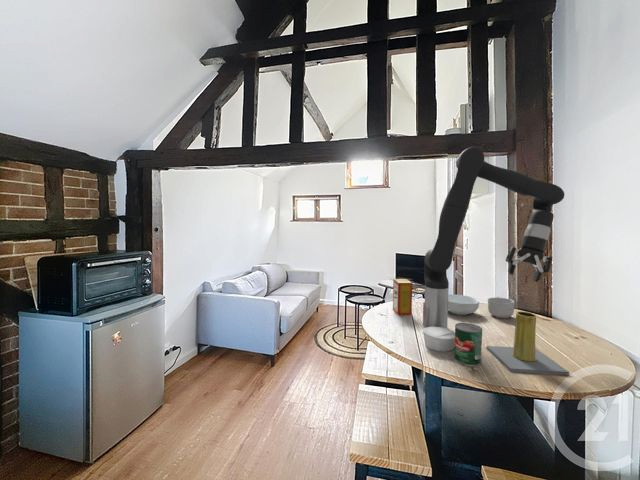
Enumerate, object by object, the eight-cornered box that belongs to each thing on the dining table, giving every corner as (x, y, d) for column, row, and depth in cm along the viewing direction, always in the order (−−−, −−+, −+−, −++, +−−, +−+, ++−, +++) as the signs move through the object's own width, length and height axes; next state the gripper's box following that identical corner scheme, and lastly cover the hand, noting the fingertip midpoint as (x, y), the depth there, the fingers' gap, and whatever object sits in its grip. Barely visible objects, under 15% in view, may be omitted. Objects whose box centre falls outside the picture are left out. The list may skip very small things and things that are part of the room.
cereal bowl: (437, 313, 142) (437, 299, 141) (444, 305, 156) (444, 292, 155) (476, 320, 132) (476, 305, 132) (480, 311, 146) (481, 297, 145)
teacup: (514, 321, 131) (514, 304, 130) (486, 317, 137) (487, 300, 136) (513, 313, 143) (513, 297, 142) (487, 309, 149) (488, 294, 148)
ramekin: (454, 356, 97) (455, 340, 97) (419, 349, 103) (420, 334, 102) (457, 344, 107) (457, 329, 107) (425, 338, 112) (425, 324, 112)
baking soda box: (411, 315, 140) (412, 282, 139) (397, 315, 140) (398, 282, 139) (405, 309, 149) (406, 278, 148) (392, 309, 149) (393, 278, 148)
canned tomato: (452, 362, 93) (453, 328, 92) (455, 352, 100) (456, 321, 99) (480, 368, 89) (481, 333, 88) (481, 358, 95) (483, 325, 95)
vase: (539, 362, 90) (542, 317, 90) (517, 360, 92) (519, 316, 91) (529, 354, 96) (531, 311, 96) (509, 352, 98) (511, 310, 97)
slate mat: (510, 371, 87) (510, 368, 87) (486, 348, 103) (486, 345, 103) (568, 375, 85) (569, 371, 85) (535, 351, 101) (535, 348, 101)
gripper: (519, 231, 110) (506, 272, 110) (562, 242, 106) (548, 284, 107) (511, 233, 117) (499, 271, 117) (550, 243, 114) (538, 283, 114)
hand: (522, 277), depth 112 cm, fingers open, 8 cm apart
